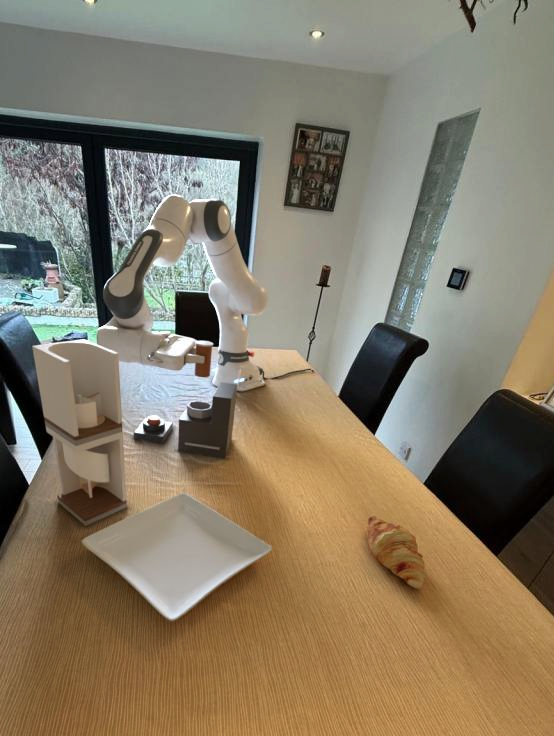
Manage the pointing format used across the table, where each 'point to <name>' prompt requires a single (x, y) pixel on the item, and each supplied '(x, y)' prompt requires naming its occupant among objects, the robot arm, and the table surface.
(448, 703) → the table surface
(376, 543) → the croissant
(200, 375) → the coffee pod
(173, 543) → the square plate
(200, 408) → the coffee maker
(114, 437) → the spiral staircase model
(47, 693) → the table surface
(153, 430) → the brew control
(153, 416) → the brew button
